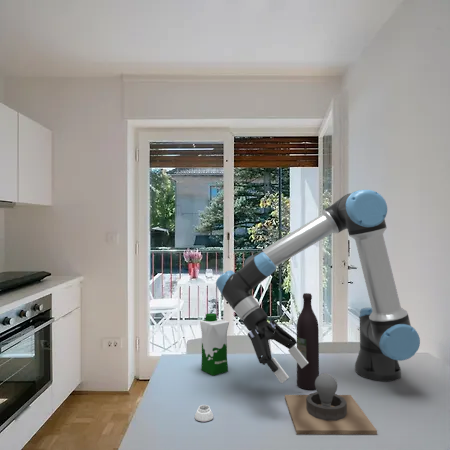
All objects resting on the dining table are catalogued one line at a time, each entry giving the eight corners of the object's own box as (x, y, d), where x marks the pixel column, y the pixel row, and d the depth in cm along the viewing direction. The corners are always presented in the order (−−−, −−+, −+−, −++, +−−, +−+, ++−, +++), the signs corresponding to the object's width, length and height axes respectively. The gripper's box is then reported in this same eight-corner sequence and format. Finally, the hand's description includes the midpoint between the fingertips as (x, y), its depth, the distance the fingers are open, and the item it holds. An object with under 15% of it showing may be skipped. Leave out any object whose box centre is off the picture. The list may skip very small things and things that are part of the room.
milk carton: (216, 364, 142) (216, 311, 142) (232, 371, 135) (231, 315, 135) (197, 370, 136) (197, 315, 137) (212, 377, 129) (212, 319, 129)
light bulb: (338, 416, 100) (338, 378, 100) (315, 414, 101) (315, 377, 101) (336, 406, 106) (335, 370, 106) (314, 404, 107) (314, 369, 107)
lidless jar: (216, 416, 103) (201, 412, 105) (216, 405, 103) (201, 401, 105) (206, 424, 98) (191, 420, 101) (206, 413, 98) (191, 409, 101)
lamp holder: (350, 398, 113) (350, 385, 113) (377, 434, 93) (376, 418, 93) (284, 398, 113) (284, 384, 113) (296, 434, 93) (296, 418, 93)
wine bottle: (298, 380, 127) (298, 291, 127) (320, 383, 124) (319, 292, 125) (295, 388, 120) (294, 295, 121) (317, 391, 118) (317, 296, 118)
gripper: (263, 314, 129) (304, 367, 120) (221, 330, 109) (266, 395, 100) (277, 300, 126) (320, 353, 117) (236, 314, 106) (284, 379, 97)
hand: (295, 372), depth 108 cm, fingers open, 13 cm apart
